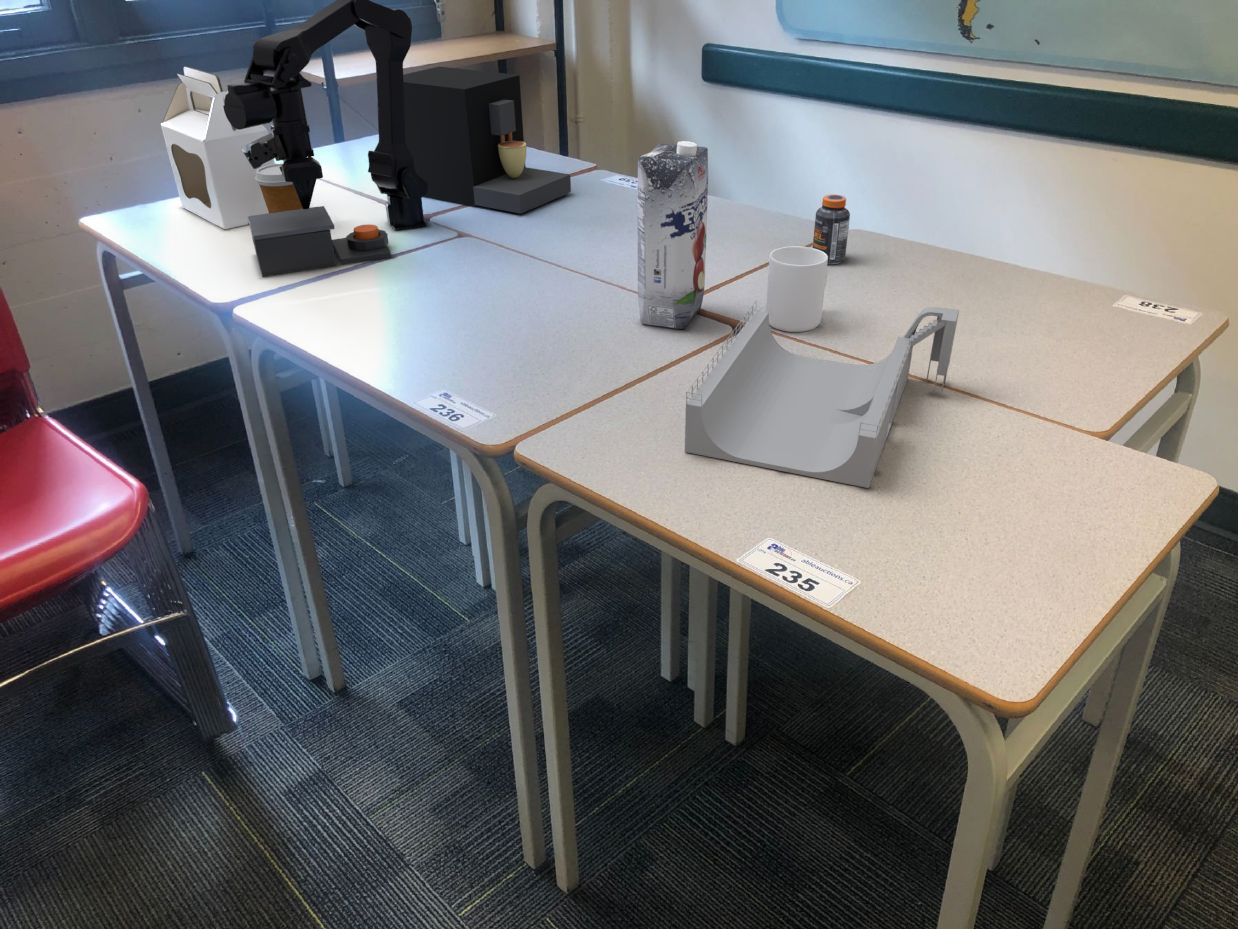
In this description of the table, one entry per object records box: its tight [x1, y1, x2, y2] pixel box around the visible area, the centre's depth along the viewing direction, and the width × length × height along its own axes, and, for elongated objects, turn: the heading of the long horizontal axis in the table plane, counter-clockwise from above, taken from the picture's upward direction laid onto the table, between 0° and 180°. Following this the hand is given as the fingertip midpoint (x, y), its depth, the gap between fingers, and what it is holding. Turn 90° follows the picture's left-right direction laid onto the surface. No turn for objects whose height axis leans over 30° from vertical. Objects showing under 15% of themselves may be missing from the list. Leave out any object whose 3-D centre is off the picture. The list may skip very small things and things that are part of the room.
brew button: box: [353, 224, 379, 240], centre depth 177 cm, size 4×4×2 cm
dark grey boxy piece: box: [248, 224, 337, 278], centre depth 173 cm, size 13×12×7 cm
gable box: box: [160, 66, 276, 231], centre depth 194 cm, size 22×13×28 cm, turn 43°
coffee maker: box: [403, 66, 572, 215], centre depth 204 cm, size 18×35×24 cm, turn 57°
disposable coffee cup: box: [255, 163, 303, 213], centre depth 188 cm, size 10×10×12 cm
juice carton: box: [636, 140, 709, 330], centre depth 143 cm, size 9×10×27 cm
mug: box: [765, 245, 829, 333], centre depth 146 cm, size 9×12×11 cm
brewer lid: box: [248, 205, 335, 240], centre depth 171 cm, size 14×12×1 cm
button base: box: [332, 228, 392, 266], centre depth 178 cm, size 10×12×3 cm
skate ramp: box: [684, 299, 960, 489], centre depth 119 cm, size 30×27×11 cm
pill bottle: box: [812, 193, 851, 265], centre depth 168 cm, size 6×6×11 cm
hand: (306, 208), depth 171 cm, fingers closed
